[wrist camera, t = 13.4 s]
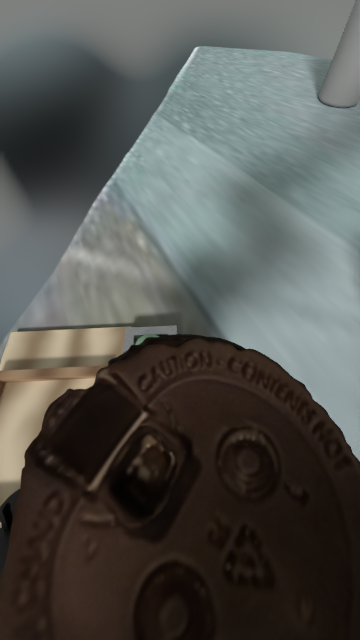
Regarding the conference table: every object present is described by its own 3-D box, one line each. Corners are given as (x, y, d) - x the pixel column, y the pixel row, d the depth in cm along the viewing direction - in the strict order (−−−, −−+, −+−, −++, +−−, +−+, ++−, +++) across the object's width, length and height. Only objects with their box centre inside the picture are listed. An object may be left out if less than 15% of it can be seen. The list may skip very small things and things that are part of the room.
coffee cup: (117, 415, 17) (-19, 351, 6) (222, 383, 18) (281, 274, 7) (140, 574, 13) (-186, 1469, 2) (274, 521, 14) (664, 847, 3)
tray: (134, 329, 35) (130, 319, 32) (124, 514, 24) (117, 522, 22) (15, 335, 35) (1, 325, 32) (-48, 524, 24) (-76, 534, 21)
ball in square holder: (177, 336, 34) (176, 325, 31) (179, 383, 31) (179, 376, 28) (130, 338, 34) (125, 327, 31) (127, 385, 31) (121, 379, 28)
